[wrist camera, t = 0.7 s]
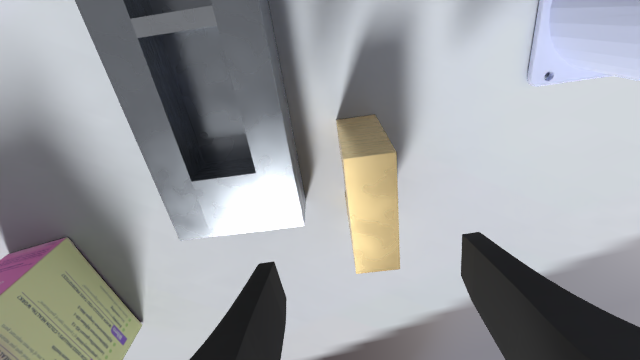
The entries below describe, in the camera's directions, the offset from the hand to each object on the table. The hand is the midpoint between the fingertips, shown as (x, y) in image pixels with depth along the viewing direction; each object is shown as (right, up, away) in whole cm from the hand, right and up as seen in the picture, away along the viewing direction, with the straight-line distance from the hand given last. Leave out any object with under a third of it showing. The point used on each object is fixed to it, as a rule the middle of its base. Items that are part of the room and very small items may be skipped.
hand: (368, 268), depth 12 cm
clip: (+1, +4, +9) cm, 10 cm away
